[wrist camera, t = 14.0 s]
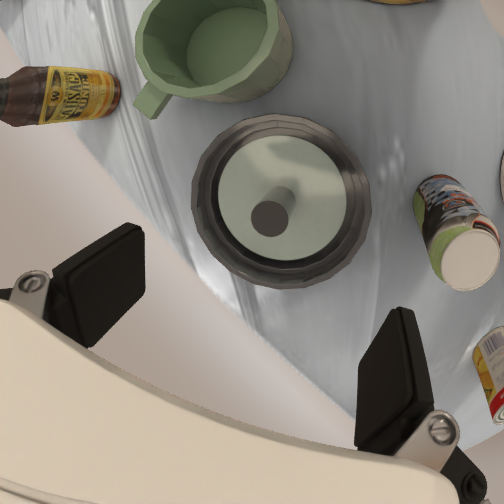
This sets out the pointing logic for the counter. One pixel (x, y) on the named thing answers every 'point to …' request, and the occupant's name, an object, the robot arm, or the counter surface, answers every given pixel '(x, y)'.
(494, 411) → the canned food
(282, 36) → the pot
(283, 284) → the pan
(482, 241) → the beverage can
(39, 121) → the sauce bottle
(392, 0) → the tankard
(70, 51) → the counter surface
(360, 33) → the counter surface
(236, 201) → the lid
